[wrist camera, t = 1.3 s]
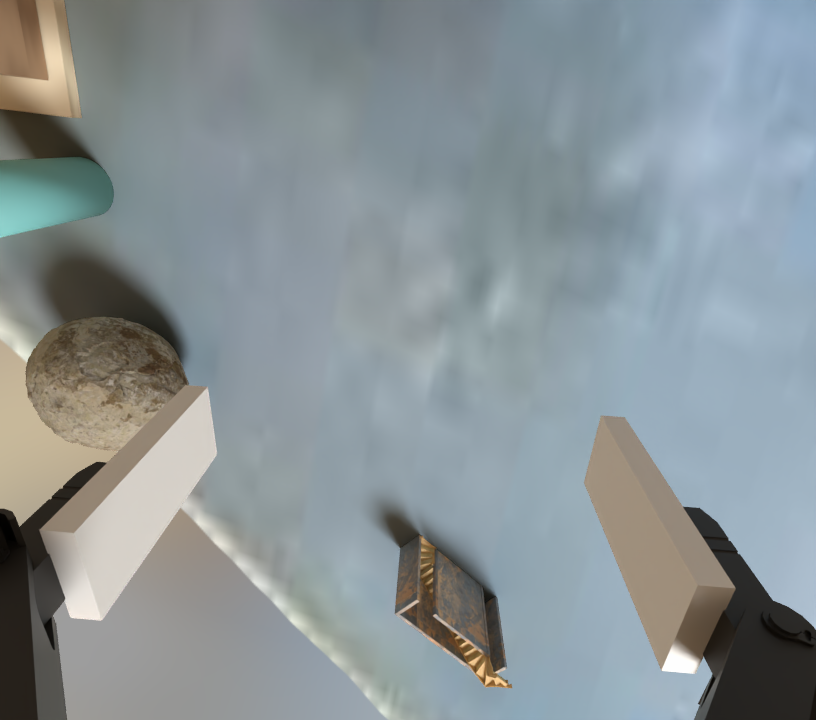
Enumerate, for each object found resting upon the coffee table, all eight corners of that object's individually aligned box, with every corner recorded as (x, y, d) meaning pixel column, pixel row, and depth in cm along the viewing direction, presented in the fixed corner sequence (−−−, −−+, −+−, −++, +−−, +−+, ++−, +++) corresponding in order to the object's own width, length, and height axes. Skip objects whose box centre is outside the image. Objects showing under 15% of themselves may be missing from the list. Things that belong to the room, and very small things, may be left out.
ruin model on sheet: (500, 592, 50) (514, 690, 41) (477, 606, 51) (486, 704, 42) (422, 528, 47) (420, 619, 38) (400, 545, 48) (392, 636, 39)
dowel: (52, 153, 34) (-129, 160, 23) (109, 160, 34) (-45, 169, 23) (62, 212, 36) (-101, 244, 25) (117, 219, 36) (-23, 253, 25)
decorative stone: (66, 341, 40) (-42, 400, 31) (128, 278, 38) (31, 321, 28) (164, 426, 43) (91, 502, 34) (227, 372, 40) (167, 439, 31)
